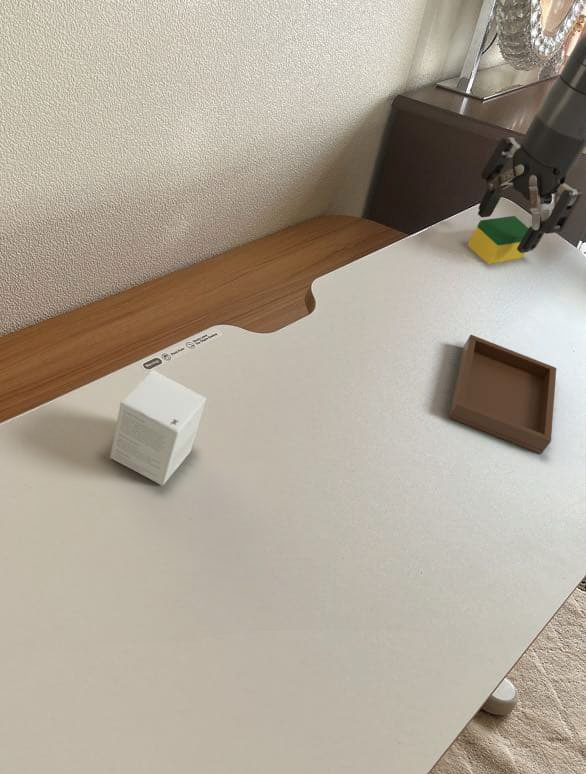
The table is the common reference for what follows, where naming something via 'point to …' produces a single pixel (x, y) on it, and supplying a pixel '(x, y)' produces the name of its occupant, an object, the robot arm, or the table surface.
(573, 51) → the robot arm
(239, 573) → the table surface
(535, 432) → the tray
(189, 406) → the product box
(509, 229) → the sponge
